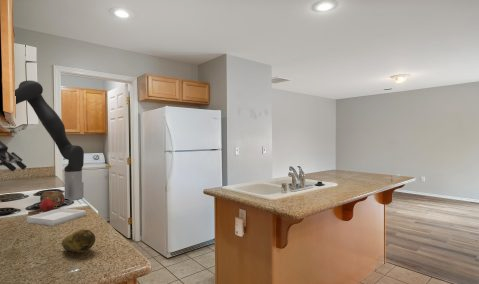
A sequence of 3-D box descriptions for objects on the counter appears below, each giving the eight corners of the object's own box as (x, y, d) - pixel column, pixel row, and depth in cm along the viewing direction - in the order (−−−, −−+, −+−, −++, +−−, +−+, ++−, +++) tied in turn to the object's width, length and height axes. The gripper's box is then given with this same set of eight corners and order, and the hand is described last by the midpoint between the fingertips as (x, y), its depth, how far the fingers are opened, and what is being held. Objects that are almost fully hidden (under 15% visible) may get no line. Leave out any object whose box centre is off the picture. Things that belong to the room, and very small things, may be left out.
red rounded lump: (37, 213, 131) (37, 197, 130) (50, 210, 136) (50, 195, 136) (43, 215, 128) (43, 198, 128) (56, 212, 133) (56, 196, 133)
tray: (61, 213, 131) (61, 208, 131) (85, 215, 127) (85, 210, 127) (26, 222, 116) (26, 216, 116) (53, 226, 111) (53, 220, 111)
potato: (89, 243, 92) (89, 220, 92) (97, 255, 83) (97, 230, 82) (60, 250, 87) (60, 226, 87) (66, 264, 77) (66, 236, 77)
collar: (49, 209, 138) (49, 206, 138) (64, 211, 135) (64, 208, 135) (28, 214, 128) (28, 211, 128) (43, 216, 125) (43, 213, 125)
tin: (39, 205, 146) (39, 190, 146) (45, 204, 149) (45, 189, 149) (60, 207, 142) (59, 192, 142) (65, 206, 145) (65, 191, 145)
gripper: (-12, 140, 120) (17, 164, 123) (8, 140, 134) (34, 162, 137) (-26, 151, 119) (4, 176, 122) (-4, 150, 133) (22, 173, 135)
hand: (19, 169), depth 129 cm, fingers open, 8 cm apart
